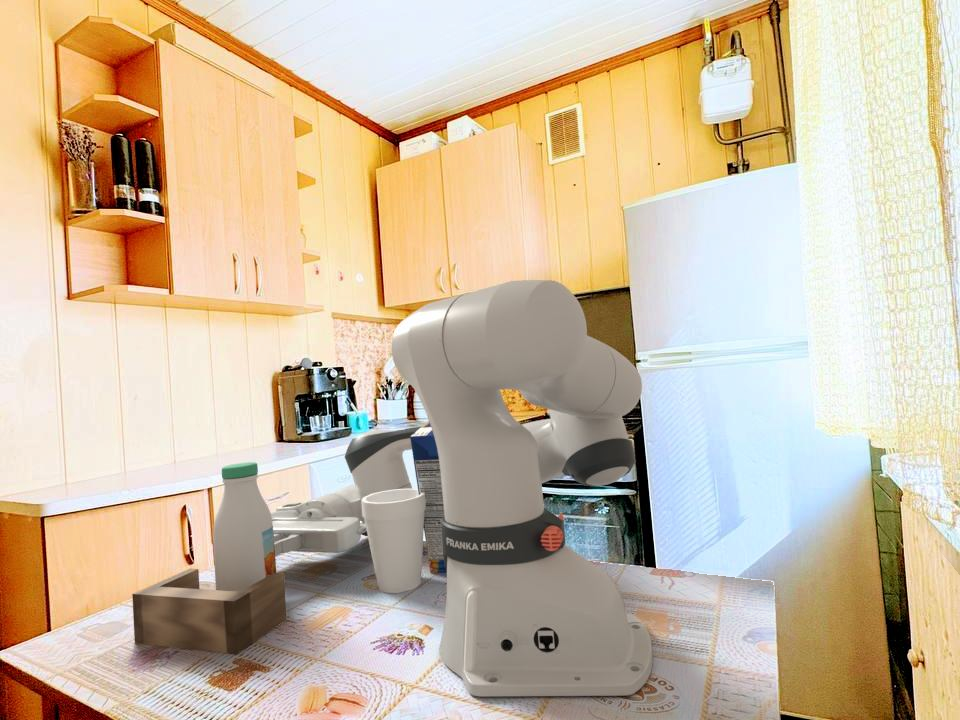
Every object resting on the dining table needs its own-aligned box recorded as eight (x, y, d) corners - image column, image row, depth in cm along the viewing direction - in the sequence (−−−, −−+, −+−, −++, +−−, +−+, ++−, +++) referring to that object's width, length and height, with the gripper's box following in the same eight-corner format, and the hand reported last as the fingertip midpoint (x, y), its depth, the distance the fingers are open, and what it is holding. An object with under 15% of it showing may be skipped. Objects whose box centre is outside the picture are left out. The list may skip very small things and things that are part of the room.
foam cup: (412, 600, 68) (405, 504, 69) (355, 595, 71) (348, 503, 72) (441, 573, 77) (435, 488, 78) (389, 570, 80) (383, 488, 81)
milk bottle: (254, 622, 65) (244, 468, 66) (204, 620, 67) (195, 470, 68) (289, 596, 73) (280, 458, 74) (243, 595, 74) (235, 460, 75)
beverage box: (430, 573, 77) (409, 437, 74) (449, 538, 88) (432, 417, 85) (472, 574, 76) (453, 434, 73) (487, 537, 86) (471, 414, 83)
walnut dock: (286, 619, 65) (283, 572, 65) (237, 654, 57) (234, 601, 57) (192, 611, 70) (190, 568, 70) (134, 642, 62) (132, 593, 62)
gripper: (376, 543, 84) (326, 575, 70) (276, 540, 90) (213, 570, 77) (373, 505, 84) (323, 530, 71) (274, 505, 90) (211, 528, 77)
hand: (265, 551), depth 74 cm, fingers closed, pressing on milk bottle
